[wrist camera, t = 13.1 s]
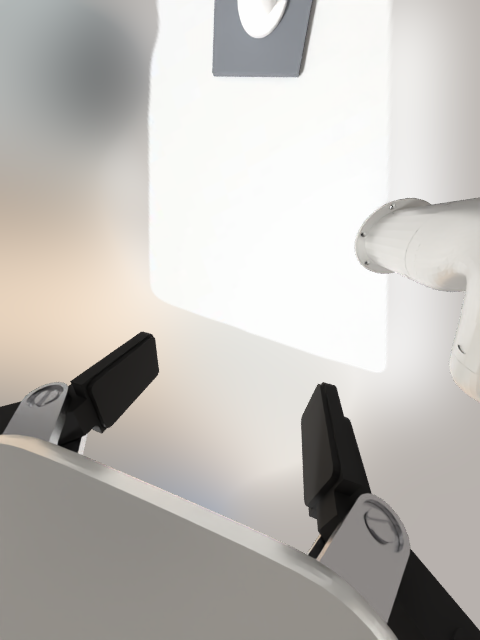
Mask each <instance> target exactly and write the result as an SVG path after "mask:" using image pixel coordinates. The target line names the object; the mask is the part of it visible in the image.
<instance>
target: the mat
mask: <svg viewBox="0 0 480 640" xmlns="http://www.w3.org/2000/svg"><path fill="white" fill-rule="evenodd" d="M311 6H312V0H288V1H287V5H286V8H285V11H284V14H283V16H282V18H281V20H280V22H279V24H278V25H277V27H276V28H275V29H274V30H273V31H272V32H271V33H270V34H269V35H267V36H266V37H263V38H254V37H251V36H250V35H249V34H248V33H247V32H246V31H245V29H244V28H243V26H242V23H241V20H240V16H239V12H238V0H215V9H214V40H213V71H212V73H213V75H214V76H239V77H299V71H300V66H301V60H302V55H303V49H304V44H305V39H306V33H307V28H308V22H309V17H310V11H311Z"/></svg>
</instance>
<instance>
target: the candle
mask: <svg viewBox="0 0 480 640" xmlns="http://www.w3.org/2000/svg"><path fill="white" fill-rule="evenodd" d="M287 1H288V0H238V12H239V16H240V20H241V23H242V26H243V28H244V29H245V31H246V32H247V33H248V34H249V35H250V36H251V37H254V38H263V37H266V36H267V35H269V34H270V33H271V32H272V31H273V30H274V29H275V28H276V27H277V25H278V24H279V22H280V20H281V18H282V16H283V14H284V11H285V8H286V5H287Z"/></svg>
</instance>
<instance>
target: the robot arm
mask: <svg viewBox="0 0 480 640" xmlns="http://www.w3.org/2000/svg"><path fill="white" fill-rule="evenodd" d="M390 206H392V208H391V209H390ZM361 233H363V235H362V236H361ZM355 255H356V257H357V260H358V261H359V262H360V264H361V265H362V266H364V267H365V268H366V269H368V270H370V271H372V272H375V273H381V274H389V273H398V274H400V275H402V276H404V277H407V278H408V279H411V280H413V281H415V282H417V283H419V284H422V285H424V286H426V287H429V288H432V289H435V290H439V291H447V292H460V291H466V292H465V297H464V301H463V304H462V312H461V316H460V319H459V323H458V327H457V331H456V334H455V338H454V342H453V345H452V350H451V355H450V361H449V368H450V373H451V376H452V378H453V380H454V381H455V383H456V384H457V385H458V386H459V388H461V390H463V391H464V392H465V393H466V394H467V395H469V396H470V397H471V398H473V399H474V400H476V401H477V402H479V403H480V198H474V199H467V200H461V201H454V202H447V203H440V204H434V205H431V204H430V203H428V202H426V201H424V200H421V199H416V198H406V199H400V200H396V201H393V202H390V203H388V204H386V205H384V206H382V207H380V208H379V209H377V210H376V211H375V212H373V213H372V214H371V215H370V216H369V217H368V218H367V219H366V220H365V221H364V223H363V224H362V226H361V227H360V229H359V231H358V233H357V236H356V240H355ZM366 261H367V263H366V264H365V262H366ZM158 373H159V367H158V360H157V351H156V343H155V338H154V337H153V335H152V334H149V333H145V332H140V333H139V334H137V335H136V336H135V337H133V338H132V339H130V340H129V341H127V342H126V343H125V344H123V345H122V346H120V347H119V348H117V349H116V350H115V351H113V352H112V353H110V354H109V355H107V356H106V357H105V358H103V359H102V360H100V361H99V362H97V363H96V364H95V365H93V366H92V367H90V368H89V369H87V370H86V371H85V372H83V373H82V374H80V375H79V376H77V377H76V378H75V379H73V380H72V381H70V382H71V385H69V386H67V384H65V383H61V382H54V383H49V384H45V385H43V386H41V387H38V388H36V389H35V390H33V391H31V392H30V393H29V394H28V395H26V396H25V398H24V399H23V400H22V401H21V402H17V403H14V404H10V405H6V406H2V407H0V640H480V631H479V629H478V628H477V627H476V626H475V625H474V623H473V622H472V621H471V620H470V619H469V617H468V616H467V615H466V614H465V613H464V612H463V610H462V609H461V608H460V607H459V606H458V604H457V603H456V602H455V601H454V600H453V598H452V597H451V596H450V595H449V594H448V593H447V592H446V590H445V589H444V588H443V587H442V585H441V584H440V583H439V582H438V581H437V580H436V578H435V577H434V576H433V575H432V574H431V572H430V571H429V570H428V569H427V568H426V567H425V565H424V564H423V563H422V562H421V561H420V560H419V558H418V557H417V556H416V555H415V554H414V552H413V551H412V550H411V549H410V543H409V537H408V534H407V532H406V529H405V527H404V525H403V523H402V522H401V520H400V518H399V517H398V515H397V514H396V513H395V511H394V510H393V509H392V508H391V507H390V506H389V505H388V504H387V503H386V502H385V501H383V500H382V499H381V498H379V497H377V496H376V495H373V494H371V490H370V487H369V483H368V480H367V476H366V473H365V469H364V466H363V463H362V459H361V456H360V452H359V449H358V445H357V442H356V439H355V435H354V432H353V428H352V425H351V422H350V420H349V419H348V418H346V417H344V415H343V411H342V407H341V403H340V399H339V396H338V392H337V388H336V386H335V385H331V384H327V383H324V382H323V383H322V384H321V385H320V384H318V385H317V387H316V389H315V391H314V393H313V395H312V397H311V399H310V401H309V403H308V405H307V407H306V409H305V411H304V413H303V415H302V419H301V430H302V455H303V482H304V501H305V505H306V506H308V507H309V516H310V517H313V518H315V519H317V524H318V532H319V533H320V534H319V536H318V538H317V539H316V540H315V542H314V543H313V545H312V546H311V548H310V549H309V551H308V552H307V554H305V553H303V552H301V551H299V550H297V549H295V548H293V547H291V546H289V545H287V544H285V543H283V542H281V541H278V540H276V539H274V538H272V537H270V536H268V535H265V534H263V533H261V532H259V531H257V530H255V529H252V528H250V527H248V526H246V525H243V524H241V523H239V522H236V521H234V520H232V519H229V518H227V517H225V516H223V515H220V514H218V513H216V512H214V511H211V510H209V509H207V508H204V507H202V506H199V505H197V504H195V503H193V502H191V501H188V500H186V499H183V498H181V497H179V496H177V495H174V494H172V493H170V492H167V491H165V490H163V489H160V488H158V487H155V486H154V485H151V484H149V483H147V482H144V481H142V480H139V479H137V478H135V477H133V476H130V475H128V474H126V473H123V472H121V471H118V470H116V469H114V468H111V467H109V466H107V465H104V464H102V463H100V462H97V461H95V460H93V459H90V458H88V457H85V456H83V452H84V447H85V443H86V438H87V434H88V432H89V431H90V430H91V429H93V430H95V431H97V432H100V433H103V432H104V430H106V428H109V427H111V426H112V425H113V424H114V423H115V422H116V421H117V420H118V418H119V417H120V416H121V415H122V414H123V413H124V412H125V410H127V408H128V407H129V406H130V405H131V404H132V403H133V402H134V401H135V400H136V399H137V397H138V396H139V395H140V394H141V393H142V392H143V391H144V390H145V389H146V388H147V386H148V385H149V384H150V383H151V382H152V381H153V380H154V379H155V378H156V376H157V375H158Z"/></svg>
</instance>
